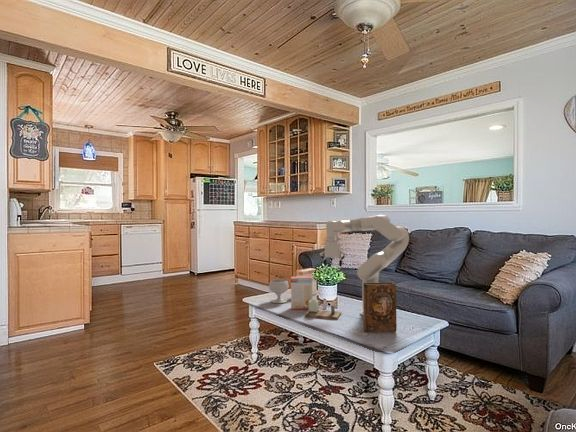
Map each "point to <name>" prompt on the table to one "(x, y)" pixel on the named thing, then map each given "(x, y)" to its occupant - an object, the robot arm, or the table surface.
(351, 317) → the table surface
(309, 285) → the cracker box
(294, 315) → the table surface
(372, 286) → the book
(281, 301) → the chalice
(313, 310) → the sleeve
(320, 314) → the pin board
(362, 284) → the robot arm
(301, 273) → the coffeecake box
